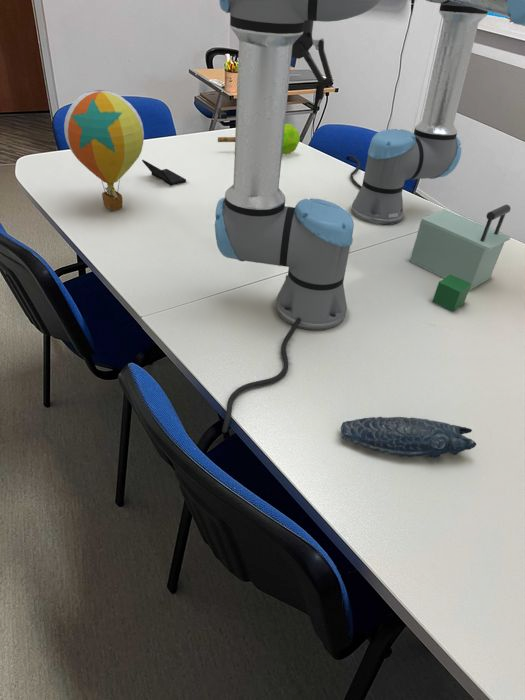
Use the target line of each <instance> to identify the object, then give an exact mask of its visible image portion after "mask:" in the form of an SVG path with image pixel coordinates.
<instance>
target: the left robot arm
mask: <svg viewBox="0 0 525 700" xmlns="http://www.w3.org/2000/svg"><path fill="white" fill-rule="evenodd" d="M218 1H219V6H220V7H219V8H220V10H222V11H223V12H224V13H226V14H230V15H229V17H230V20H229V27H230V29H231V30H232V31H233V33H234V35H235V36H236V37H237V39H238V57H237V58H238V59H237V60H238V62H237V85H236V86H237V87H236V110H235V111H236V112H235V136H234V137H235V142H234V159H233V160H234V161H233V162H234V163H233V166H234V167H233V184H232V185H231V186H229V188H227V189H226V190H225V191H224V197H222V198H220V199H218V201H217V204H216V208H215V220H214V233H215V240H216V241H215V242H216V245H217V248H218V251H219V252H220V254H221V255H222V256H223V257H225V258H227V259H232V260H237V261H239V262H249V263H258V264H265V265H270V266H271V265H272V266H279V267H287V268H288V270H287V271H288V272H287V274H286V275H285V279H284V282H283V283H282V285H281V287H280V290H279V291H278V294H277V296H276V300H275V311H276V313H277V315H278V316H279V317H280V318H281V319H282V320H283V321H284V322H286V323H287V324H289V325H291V328H290V329H289V330H288V332H287V334H286V335H285V336H284V338H283V339H282V343H281V346H280V350H281V351H280V353H281V359H282V362H283V367H282V370H281V371H280V372H279V373H278V374H276V375H275V376H273V377H270V378H266V379H261V380H257V381H252V382H248V383H246V384H242V385H241V386H240V387H238V388H237V389H235V390H234V391H233V392H232V393H231V394H230V396H229V398H228V400H227V403H226V411H225V416H224V421H223V425H222V429H221V432H222V433H223V434H224V433H227V432H228V430H229V427H230V423H231V419H232V413H233V405H234V402H235V400H236V399H237V398H238V396H239V395H240V394H241V393H243V392H245V391H247V390H249V389H253V388H257V387H263V386H266V385H271V384H274V383H276V382H279V381H280V380H281V379H283V378H284V377H285V376H286V374H287V373H288V371H289V366H290V365H289V364H290V363H289V358H288V354H287V347H288V346H287V345H288V343H289V342H290V339H291V338H292V336H293V335H294V333H295V331H296V330H297V329H298V328H300V329H304V330H310V331H324V330H325V331H326V330H329V329H333V328H336V327H337V326H339V325H340V324H342V323H343V322H344V320H345V318H346V315H347V310H348V307H347V306H348V305H347V297H346V292H345V286H344V280H345V275H346V271H347V267H348V266H347V264H348V260H349V254H350V250H351V249H350V248H351V246H352V244H353V242H354V239H353V236H354V235H353V234H354V228H355V223H354V219H353V217H352V215H351V214H350V213H349V212H348V211H347V210H346V209H345V208H343V206H342V207H341V206H340V205H338V204H336V203H334V202H331V201H329V200H326V199H320V198H312V197H311V198H309V199H308V198H304V199H301V200H299V201H298V202H297V203H296V205H295V206H294V207H293V206H286V195H285V193H284V192H283V191H282V190H281V189H280V188H279V187H280V178H281V177H280V176H281V167H282V157H283V154H282V148H283V138H284V127H285V124H286V118H287V117H286V115H287V105H288V94H289V84H290V74H291V63H292V58H295V59H297V60H301V59H304V61H305V62H306V64H307V65H308V67H309V68H310V70H311V72H312V74H313V76H314V77H315V79H316V81H317V82H318V83H316V87H315V94H314V102H313V109H312V114H314V115H316V114H317V112H318V104H319V100H323V98H324V92H325V86H327V85H331V84H332V83H333V75H332V72H331V69H330V65H329V61H328V58H327V55H326V50H325V39H324V38H319V39H313V30H314V22H324V23H325V22H327V23H328V22H339V21H343V20H344V21H345V20H349V19H351V18H355V17H358V16H360V15H363V14H365V13H367V12H369V11H370V10H371V9H374V8H375V7H376V6H377V5H378V4H379V3H380V2H381V0H218ZM313 46H314V48H315V50H316V51H318V56H319V58H320V62H321V66H322V69H323V73H324V76H325V77H324V76H323V74H322V73H321V71H320V69H319V67H318V65H317V64H316V62H315V60H314V59H313V57H312V54H311V52H310V51H309V50H311V48H312V47H313Z"/></svg>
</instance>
